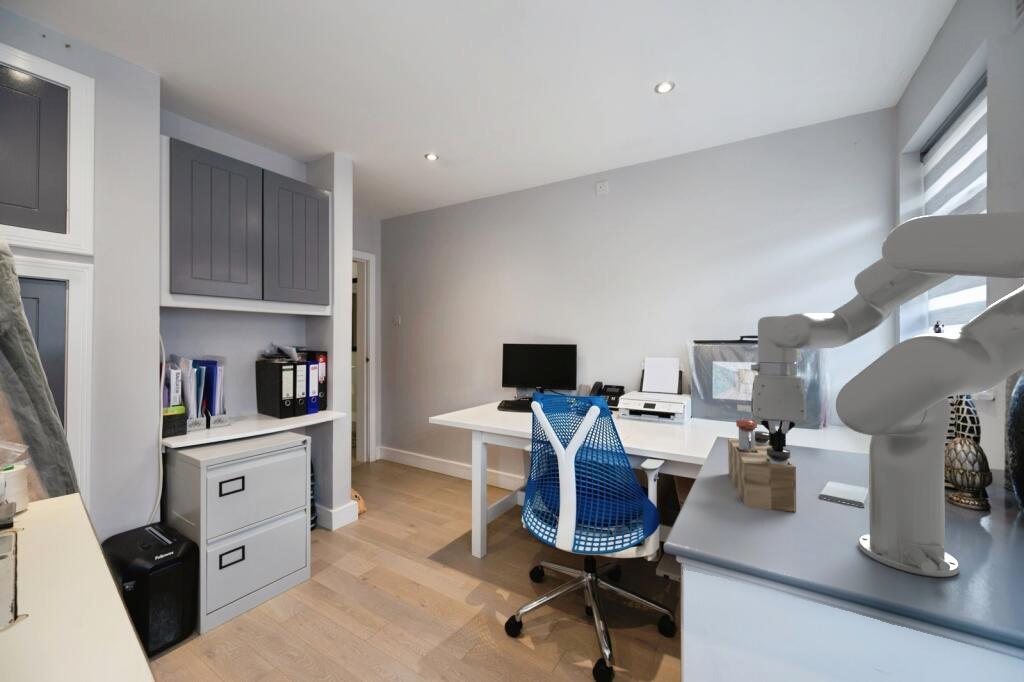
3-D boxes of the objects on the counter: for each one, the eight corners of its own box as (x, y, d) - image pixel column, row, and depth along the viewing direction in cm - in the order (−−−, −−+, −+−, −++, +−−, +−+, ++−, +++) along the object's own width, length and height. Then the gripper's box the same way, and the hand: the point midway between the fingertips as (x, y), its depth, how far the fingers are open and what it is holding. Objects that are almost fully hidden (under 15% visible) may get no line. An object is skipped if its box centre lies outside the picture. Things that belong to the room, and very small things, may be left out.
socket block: (796, 512, 91) (795, 466, 91) (745, 506, 94) (744, 462, 94) (769, 477, 114) (768, 440, 114) (728, 473, 117) (728, 438, 117)
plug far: (772, 480, 109) (772, 435, 109) (753, 478, 110) (752, 434, 110) (768, 475, 113) (767, 431, 113) (749, 473, 115) (748, 430, 115)
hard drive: (863, 502, 93) (869, 487, 102) (819, 493, 99) (827, 480, 108) (864, 510, 93) (869, 494, 102) (819, 500, 99) (827, 486, 108)
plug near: (793, 506, 92) (793, 453, 92) (769, 504, 93) (769, 451, 93) (787, 498, 96) (787, 447, 96) (765, 496, 98) (764, 446, 98)
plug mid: (759, 471, 102) (758, 423, 102) (738, 469, 103) (738, 422, 103) (755, 465, 106) (754, 419, 106) (735, 464, 108) (734, 418, 108)
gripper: (743, 370, 94) (743, 451, 94) (821, 372, 89) (822, 457, 89) (737, 368, 101) (737, 443, 101) (809, 369, 96) (810, 447, 96)
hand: (777, 449), depth 95 cm, fingers closed
